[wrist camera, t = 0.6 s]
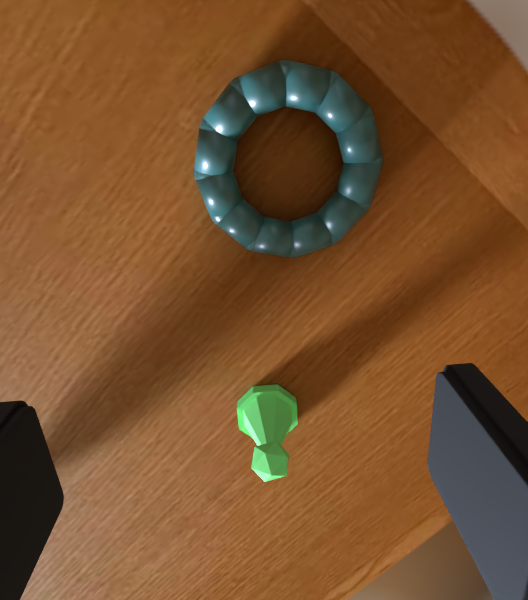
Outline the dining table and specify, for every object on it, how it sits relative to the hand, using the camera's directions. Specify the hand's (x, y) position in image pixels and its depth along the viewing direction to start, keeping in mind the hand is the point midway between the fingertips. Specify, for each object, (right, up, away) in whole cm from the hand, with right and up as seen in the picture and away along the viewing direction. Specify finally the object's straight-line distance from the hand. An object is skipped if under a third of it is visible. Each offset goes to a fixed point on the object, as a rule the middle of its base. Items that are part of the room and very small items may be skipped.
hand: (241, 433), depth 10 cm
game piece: (+1, -4, +20) cm, 20 cm away
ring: (+2, +10, +13) cm, 16 cm away
